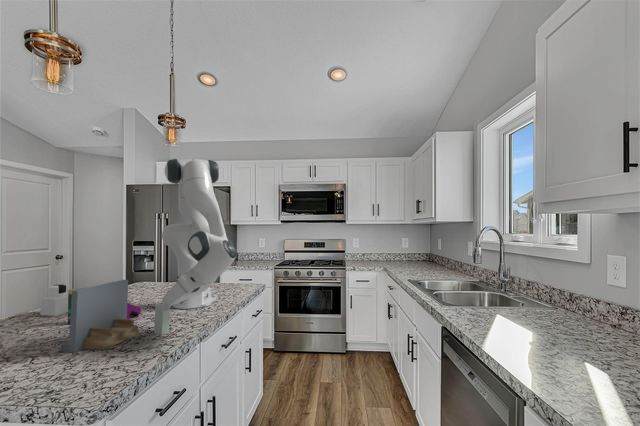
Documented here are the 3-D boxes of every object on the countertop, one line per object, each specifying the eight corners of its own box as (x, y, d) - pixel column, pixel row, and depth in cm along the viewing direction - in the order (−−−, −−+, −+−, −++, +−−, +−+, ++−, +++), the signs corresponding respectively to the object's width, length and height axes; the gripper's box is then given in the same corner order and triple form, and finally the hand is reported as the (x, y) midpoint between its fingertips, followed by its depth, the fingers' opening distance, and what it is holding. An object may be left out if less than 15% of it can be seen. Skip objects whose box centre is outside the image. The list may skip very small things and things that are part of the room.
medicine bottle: (56, 310, 134) (58, 283, 134) (71, 311, 133) (72, 283, 133) (39, 315, 127) (41, 286, 127) (54, 316, 126) (56, 287, 126)
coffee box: (66, 325, 115) (68, 290, 115) (66, 323, 117) (68, 288, 118) (92, 321, 119) (94, 287, 120) (93, 319, 122) (94, 286, 122)
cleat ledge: (119, 332, 107) (120, 317, 107) (137, 334, 106) (138, 318, 106) (83, 348, 93) (84, 330, 93) (104, 349, 92) (105, 331, 92)
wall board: (113, 329, 111) (115, 279, 112) (126, 330, 110) (128, 279, 111) (59, 351, 91) (63, 290, 92) (74, 352, 90) (77, 291, 91)
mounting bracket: (117, 330, 127) (88, 323, 111) (123, 309, 131) (96, 300, 115) (140, 330, 127) (114, 323, 111) (145, 309, 131) (121, 300, 115)
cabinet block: (161, 330, 110) (162, 302, 111) (169, 330, 110) (170, 302, 110) (154, 334, 106) (155, 305, 107) (162, 334, 106) (163, 305, 106)
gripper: (208, 268, 118) (183, 293, 119) (176, 276, 98) (147, 306, 99) (218, 280, 117) (194, 305, 118) (189, 291, 97) (160, 321, 98)
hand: (172, 305), depth 108 cm, fingers open, 8 cm apart
